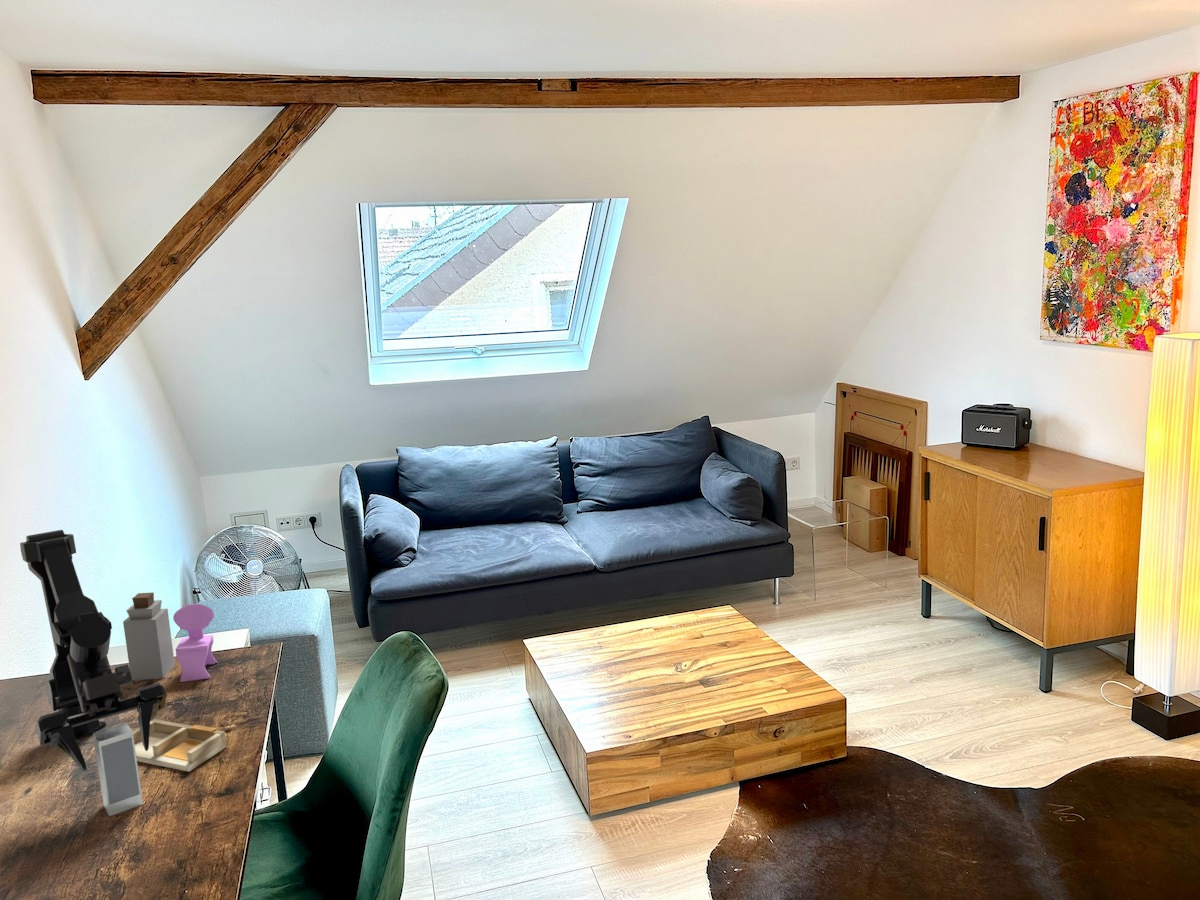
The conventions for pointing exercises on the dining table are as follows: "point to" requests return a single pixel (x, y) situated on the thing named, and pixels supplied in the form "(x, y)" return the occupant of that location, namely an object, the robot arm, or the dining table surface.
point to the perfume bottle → (148, 638)
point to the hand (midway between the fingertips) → (116, 759)
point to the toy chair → (194, 641)
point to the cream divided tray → (178, 744)
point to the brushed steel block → (118, 768)
